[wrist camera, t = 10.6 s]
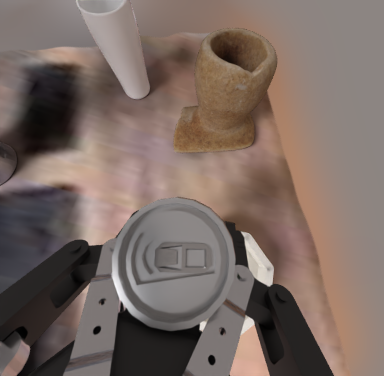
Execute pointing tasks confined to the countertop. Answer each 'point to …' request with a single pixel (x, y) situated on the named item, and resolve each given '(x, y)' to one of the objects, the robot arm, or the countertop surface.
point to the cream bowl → (254, 272)
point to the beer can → (173, 263)
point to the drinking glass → (118, 41)
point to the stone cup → (226, 91)
